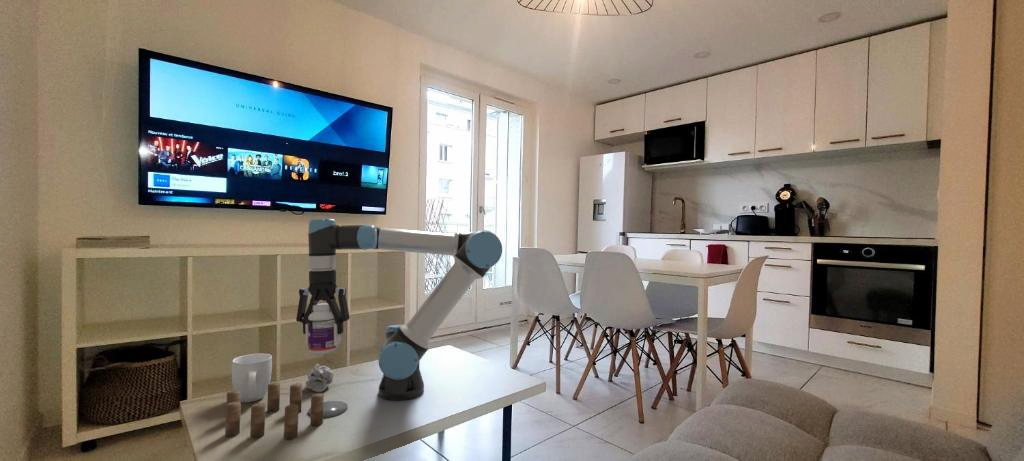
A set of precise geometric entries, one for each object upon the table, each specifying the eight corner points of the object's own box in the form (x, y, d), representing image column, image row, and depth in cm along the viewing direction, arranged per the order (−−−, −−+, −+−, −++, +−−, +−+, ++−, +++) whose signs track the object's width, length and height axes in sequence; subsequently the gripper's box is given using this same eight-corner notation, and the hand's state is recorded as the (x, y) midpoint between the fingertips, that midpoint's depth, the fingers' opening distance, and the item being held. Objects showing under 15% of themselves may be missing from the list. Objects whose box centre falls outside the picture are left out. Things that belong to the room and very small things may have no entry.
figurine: (316, 366, 136) (325, 349, 148) (296, 387, 136) (307, 369, 148) (337, 380, 138) (344, 362, 150) (317, 401, 138) (326, 382, 150)
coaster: (353, 403, 130) (353, 401, 130) (336, 419, 119) (336, 417, 119) (320, 401, 130) (320, 399, 130) (300, 416, 119) (300, 414, 119)
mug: (272, 405, 127) (274, 363, 127) (229, 413, 121) (231, 369, 121) (269, 389, 139) (271, 351, 139) (231, 396, 133) (232, 356, 133)
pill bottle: (314, 348, 127) (313, 302, 127) (341, 347, 128) (340, 301, 128) (304, 356, 119) (303, 307, 119) (332, 355, 120) (332, 306, 120)
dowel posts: (336, 411, 123) (337, 385, 124) (300, 442, 105) (301, 411, 105) (250, 406, 126) (251, 380, 126) (200, 435, 107) (201, 404, 108)
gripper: (361, 268, 127) (362, 341, 126) (296, 268, 128) (297, 341, 127) (350, 270, 119) (351, 348, 119) (281, 271, 120) (282, 348, 120)
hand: (323, 344), depth 123 cm, fingers closed on pill bottle, 8 cm apart
